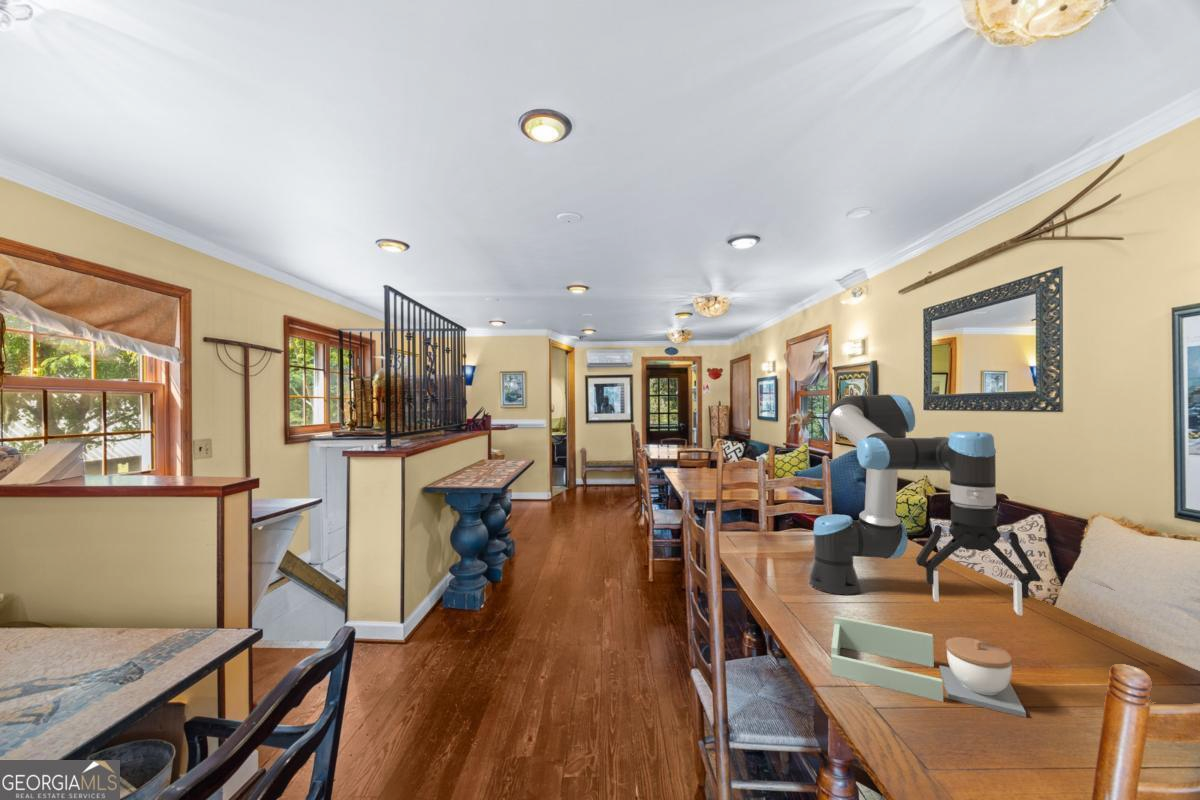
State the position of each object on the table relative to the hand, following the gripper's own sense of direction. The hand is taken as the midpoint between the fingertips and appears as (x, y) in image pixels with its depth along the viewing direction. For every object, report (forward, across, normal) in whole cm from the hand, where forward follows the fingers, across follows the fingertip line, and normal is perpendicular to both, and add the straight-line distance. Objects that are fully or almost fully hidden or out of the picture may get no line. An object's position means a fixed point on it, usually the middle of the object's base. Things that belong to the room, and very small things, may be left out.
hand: (975, 606), depth 97 cm
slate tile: (+18, 0, 0) cm, 18 cm away
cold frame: (+18, -17, 0) cm, 24 cm away
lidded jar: (+17, 0, 0) cm, 17 cm away
